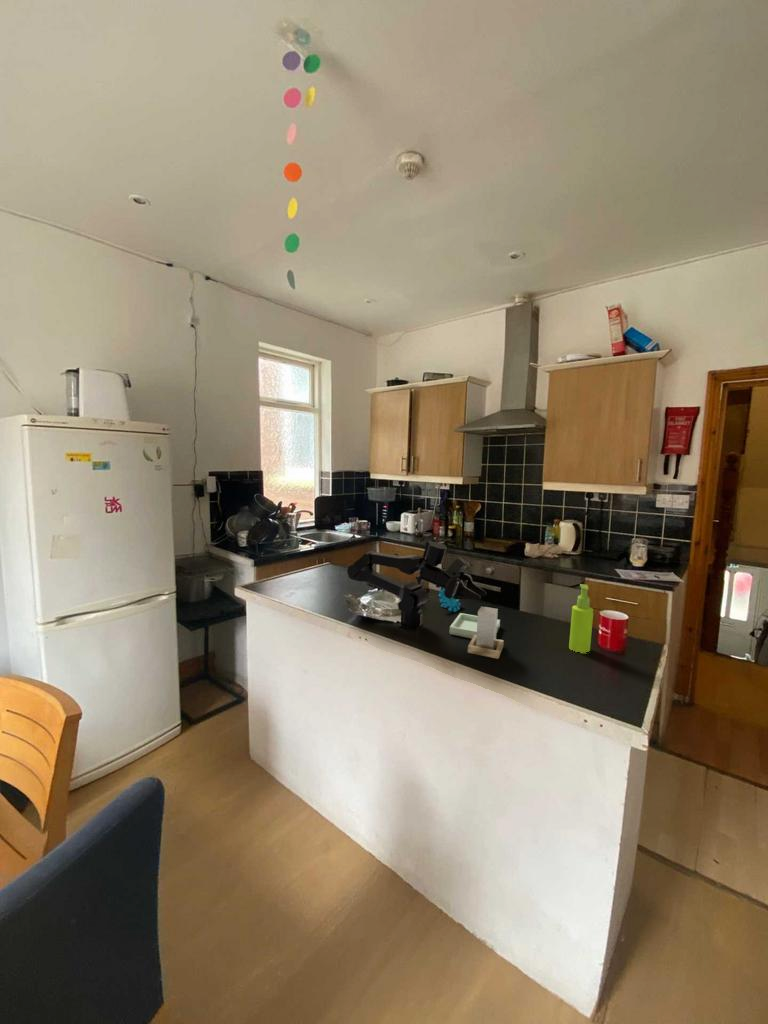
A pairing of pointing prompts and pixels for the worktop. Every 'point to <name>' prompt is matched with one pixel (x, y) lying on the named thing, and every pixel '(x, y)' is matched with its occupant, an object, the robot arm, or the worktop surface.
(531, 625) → the worktop surface
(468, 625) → the tray
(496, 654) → the wooden collar
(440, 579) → the robot arm
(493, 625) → the stop block
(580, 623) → the soap dispenser
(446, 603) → the gear
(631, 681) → the worktop surface
